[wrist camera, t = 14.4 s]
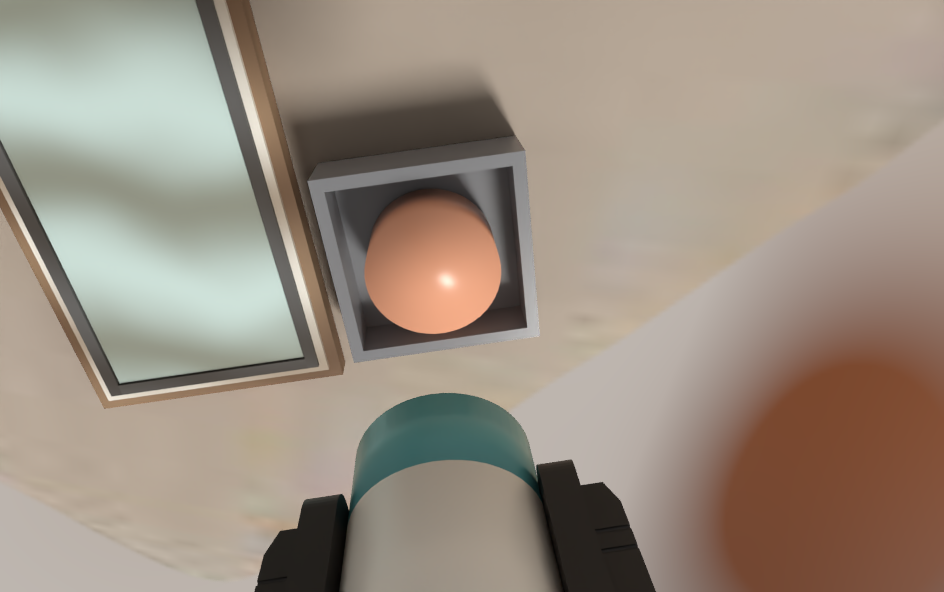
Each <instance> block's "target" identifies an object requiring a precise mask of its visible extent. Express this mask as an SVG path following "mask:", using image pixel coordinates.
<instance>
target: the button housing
mask: <svg viewBox="0 0 944 592" xmlns="http://www.w3.org/2000/svg"><path fill="white" fill-rule="evenodd" d="M307 182H308V186H309V190H310V193H311V197H312V201H313V205H314V209H315V213H316V217H317V221H318V225H319V228H320V232H321V236H322V240H323V244H324V248H325V252H326V256H327V259H328V263H329V267H330V271H331V275H332V279H333V283H334V287H335V290H336V294H337V298H338V302H339V306H340V310H341V314H342V318H343V322H344V325H345V329H346V333H347V337H348V341H349V345H350V349H351V353H352V356H353V360H354V363H356V362H363V361H370V360H377V359H384V358H391V357H398V356H405V355H412V354H419V353H426V352H432V351H439V350H446V349H453V348H460V347H467V346H474V345H481V344H488V343H495V342H502V341H509V340H516V339H523V338H530V337H537V336H540V332H539V320H538V307H537V294H536V282H535V269H534V256H533V244H532V231H531V218H530V206H529V193H528V181H527V168H526V155H525V150H524V148H523V146H522V145H521V143H520V142H519V140H518V139H517V137H516V136H509V137H502V138H494V139H487V140H480V141H473V142H466V143H459V144H451V145H444V146H437V147H430V148H423V149H416V150H409V151H401V152H394V153H387V154H380V155H373V156H366V157H358V158H351V159H344V160H337V161H330V162H323V163H318V164H317V166H316V167H315V169H314V171H313V172H312V174H311V176H310V177H309V179H308V181H307ZM421 189H442V190H448V191H451V192H454V193H457V194H459V195H461V196H463V197H465V198H467V199H468V200H470V201H471V202H472V203H473V204H475V205H476V206H477V207H478V208H479V209H480V210H481V212H482V213H483V214H484V216H485V217H486V219H487V221H488V223H489V225H490V227H491V230H492V234H493V237H494V240H495V244H496V247H497V251H498V254H499V258H500V263H501V280H500V285H499V289H498V292H497V294H496V296H495V298H494V300H493V302H492V303H491V305H490V306H489V307H488V309H487V310H486V311H485V312H484V313H483V314H482V315H481V316H480V317H479V318H477V319H476V320H475V321H473V322H472V323H470V324H468V325H467V326H465V327H462V328H460V329H457V330H454V331H451V332H446V333H438V334H426V333H418V332H414V331H410V330H408V329H405V328H402V327H400V326H398V325H397V324H395V323H393V322H392V321H390V320H389V319H387V318H386V317H385V316H384V315H383V314H382V313H381V312H380V311H379V310H378V309H377V307H376V306H375V304H374V303H373V301H372V300H371V298H370V296H369V293H368V291H367V287H366V283H365V276H364V268H365V261H366V256H367V251H368V246H369V241H370V237H371V233H372V229H373V226H374V224H375V222H376V220H377V218H378V217H379V215H380V214H381V212H382V211H383V210H384V209H385V208H386V207H387V206H388V205H389V204H390V203H391V202H393V201H394V200H396V199H397V198H399V197H401V196H403V195H405V194H407V193H410V192H413V191H416V190H421Z"/></svg>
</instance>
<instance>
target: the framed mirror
mask: <svg viewBox="0 0 944 592" xmlns="http://www.w3.org/2000/svg"><path fill="white" fill-rule="evenodd" d="M0 208H1V210H2V212H3V214H4V216H5V218H6V220H7V221H8V223H9V225H10V227H11V229H12V231H13V233H14V235H15V237H16V239H17V241H18V243H19V245H20V247H21V248H22V250H23V252H24V254H25V256H26V258H27V260H28V262H29V264H30V266H31V268H32V270H33V272H34V274H35V276H36V277H37V279H38V281H39V283H40V285H41V287H42V289H43V291H44V293H45V295H46V297H47V299H48V301H49V303H50V304H51V306H52V308H53V310H54V312H55V314H56V316H57V318H58V320H59V322H60V324H61V326H62V328H63V330H64V332H65V333H66V335H67V337H68V339H69V341H70V343H71V345H72V347H73V349H74V351H75V353H76V355H77V357H78V359H79V361H80V362H81V364H82V366H83V368H84V370H85V372H86V374H87V376H88V378H89V380H90V382H91V384H92V386H93V388H94V389H95V391H96V393H97V395H98V397H99V399H100V401H101V403H102V405H103V407H104V409H106V408H113V407H120V406H127V405H134V404H141V403H148V402H155V401H162V400H169V399H176V398H183V397H189V396H196V395H203V394H210V393H217V392H224V391H231V390H238V389H245V388H252V387H259V386H266V385H273V384H280V383H287V382H294V381H301V380H308V379H315V378H322V377H329V376H336V375H343V371H344V366H345V360H344V356H343V352H342V348H341V345H340V341H339V337H338V333H337V329H336V326H335V322H334V318H333V314H332V311H331V307H330V303H329V299H328V296H327V292H326V288H325V284H324V281H323V277H322V273H321V269H320V266H319V262H318V258H317V254H316V251H315V247H314V243H313V239H312V235H311V232H310V228H309V224H308V220H307V217H306V213H305V209H304V205H303V202H302V198H301V194H300V190H299V187H298V183H297V179H296V175H295V172H294V168H293V164H292V160H291V157H290V153H289V149H288V145H287V141H286V138H285V134H284V130H283V126H282V123H281V119H280V115H279V111H278V108H277V104H276V100H275V96H274V93H273V89H272V85H271V81H270V78H269V74H268V70H267V66H266V62H265V59H264V55H263V51H262V47H261V44H260V40H259V36H258V32H257V29H256V25H255V21H254V17H253V14H252V10H251V6H250V2H249V0H0Z"/></svg>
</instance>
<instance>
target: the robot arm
mask: <svg viewBox="0 0 944 592" xmlns="http://www.w3.org/2000/svg"><path fill="white" fill-rule="evenodd" d="M536 470H537V481H538V487H539V491H540V495H541V499H542V503H543V507H544V512H545V516H546V520H547V524H548V528H549V532H550V537H551V541H552V545H553V549H554V553H555V557H556V562H557V566H558V570H559V574H560V578H561V582H562V586H563V591H564V592H656V591H655V588H654V586H653V583H652V581H651V578H650V575H649V573H648V570H647V568H646V565H645V563H644V560H643V557H642V555H641V552H640V550H639V548H638V546H637V542H636V540H635V537H634V534H633V532H632V529H631V528H630V524H629V521H628V519H627V516H626V514H625V511H624V509H623V506H622V503H621V501H620V500H619V499H618V498H617V497H616V496H615V495H614V494H613V493H612V492H611V490H610V489H609V488H608V487H607V486H606V485H605V484H603V482H600V483H593V484H587V485H580V482H579V479H578V476H577V473H576V469H575V467H574V464H573V461H572V460H565V461H558V462H552V463H545V464H539V465H537V466H536ZM348 517H349V509H348V506H347V503H346V500H345V498H344V496H343V495H342V494H339V495H332V496H326V497H319V498H313V499H306V500H305V501H304V502H303V505H302V509H301V514H300V518H299V523H298V528H297V529H290V530H284V531H280V532H279V534H278V535H277V537H276V538H275V540H274V541H273V542H272V544H271V545H270V547H269V548H268V550H267V551H266V553H265V554H264V557H263V561H262V565H261V569H260V572H259V576H258V580H257V582H258V585H257V586H256V588H255V592H339V589H340V581H341V573H342V565H343V557H344V549H345V541H346V533H347V525H348Z"/></svg>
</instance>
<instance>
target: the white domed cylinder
mask: <svg viewBox="0 0 944 592" xmlns="http://www.w3.org/2000/svg"><path fill="white" fill-rule="evenodd" d="M339 592H564V591H563V586H562V582H561V578H560V574H559V570H558V566H557V562H556V557H555V553H554V549H553V545H552V541H551V537H550V532H549V528H548V524H547V520H546V516H545V512H544V507H543V503H542V499H541V495H540V491H539V487H538V481H537V475H536V470H535V466H534V462H533V458H532V454H531V450H530V446H529V442H528V439H527V436H526V434H525V432H524V430H523V429H522V427H521V425H520V424H519V423H518V422H517V420H515V418H514V417H513V416H512V415H511V414H509V413H508V412H507V411H506V410H504V409H503V408H501V407H500V406H498V405H496V404H494V403H492V402H490V401H488V400H485V399H482V398H479V397H475V396H471V395H466V394H457V393H439V394H430V395H425V396H420V397H416V398H413V399H410V400H407V401H405V402H402V403H400V404H398V405H396V406H394V407H393V408H391V409H389V410H388V411H386V412H385V413H383V414H382V415H381V416H380V417H378V418H377V419H376V420H375V421H374V422H373V423H372V424H371V425H370V427H369V428H368V429H367V431H366V432H365V433H364V435H363V437H362V439H361V441H360V443H359V446H358V449H357V454H356V461H355V469H354V477H353V485H352V493H351V501H350V509H349V517H348V525H347V533H346V541H345V549H344V557H343V565H342V573H341V581H340V589H339Z"/></svg>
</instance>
